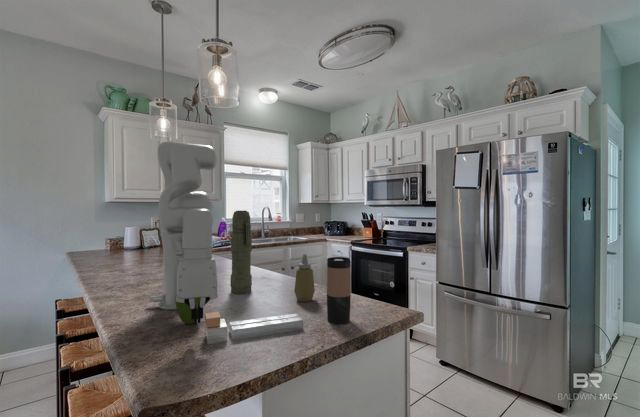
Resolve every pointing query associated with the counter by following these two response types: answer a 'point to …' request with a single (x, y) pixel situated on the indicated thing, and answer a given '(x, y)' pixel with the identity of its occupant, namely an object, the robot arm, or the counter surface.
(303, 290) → the squeeze bottle
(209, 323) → the block
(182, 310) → the apple
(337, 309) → the travel mug
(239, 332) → the base
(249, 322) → the arm
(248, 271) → the thermos
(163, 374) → the counter surface
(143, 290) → the counter surface
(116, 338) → the counter surface
